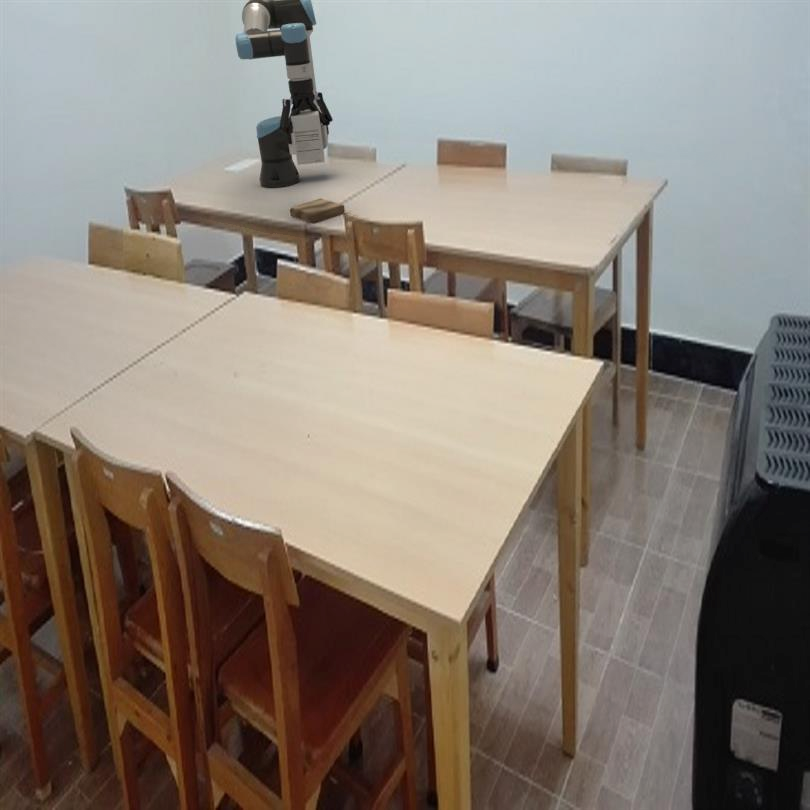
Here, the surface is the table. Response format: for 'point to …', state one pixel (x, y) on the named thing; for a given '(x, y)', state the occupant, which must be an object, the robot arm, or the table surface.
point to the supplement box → (308, 137)
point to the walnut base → (317, 210)
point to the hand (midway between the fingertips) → (309, 150)
